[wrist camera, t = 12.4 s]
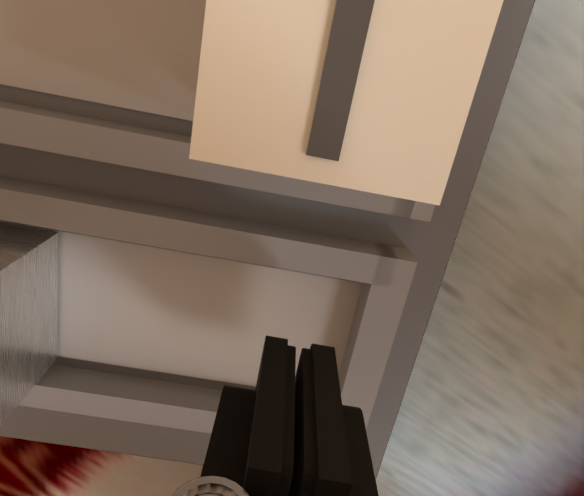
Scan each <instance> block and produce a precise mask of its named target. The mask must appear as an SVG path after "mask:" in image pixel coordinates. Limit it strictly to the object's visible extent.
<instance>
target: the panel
mask: <svg viewBox="0 0 584 496" xmlns="http://www.w3.org/2000/svg"><path fill="white" fill-rule="evenodd" d="M534 2H535V0H504V1H503V4H502V7H501V10H500V14H499V17H498V20H497V23H496V26H495V30H494V33H493V36H492V39H491V43H490V46H489V49H488V52H487V55H486V59H485V62H484V65H483V68H482V71H481V75H480V78H479V81H478V84H477V87H476V91H475V94H474V97H473V100H472V103H471V107H470V110H469V113H468V116H467V120H466V123H465V126H464V129H463V132H462V136H461V139H460V142H459V145H458V148H457V152H456V155H455V158H454V161H453V164H452V168H451V171H450V174H449V177H448V181H447V184H446V187H445V190H444V193H443V197H442V200H441V203H440V205H434V204H429V203H424V202H418V201H413V200H408V199H402V198H397V197H391V196H386V195H381V194H375V193H370V192H365V191H359V190H354V189H349V188H343V187H338V186H333V185H327V184H322V183H317V182H311V181H306V180H300V179H295V178H290V177H284V176H279V175H274V174H268V173H263V172H258V171H252V170H247V169H242V168H236V167H231V166H225V165H220V164H215V163H209V162H204V161H199V160H193V159H189V154H190V145H191V136H192V126H193V117H194V108H195V99H196V90H197V81H198V72H199V62H200V53H201V44H202V35H203V26H204V17H205V8H206V0H0V222H2V223H8V224H14V225H20V226H25V227H31V228H37V229H43V230H49V231H54V232H59V251H58V342H57V359H56V360H55V362H54V363H53V364H52V365H51V366H50V368H49V369H48V370H47V371H46V372H45V374H44V375H43V376H42V377H41V378H40V380H39V381H38V382H37V383H36V384H35V386H34V387H33V388H32V389H31V390H30V392H29V393H28V394H27V395H26V396H25V398H24V399H23V400H22V401H21V402H20V404H19V405H18V406H17V407H16V408H15V410H14V411H13V412H12V413H11V414H10V416H9V417H8V418H7V419H6V420H5V422H4V423H3V424H2V425H1V426H0V436H3V437H10V438H17V439H24V440H32V441H39V442H46V443H53V444H60V445H67V446H74V447H81V448H88V449H95V450H102V451H109V452H116V453H123V454H130V455H137V456H144V457H151V458H158V459H165V460H172V461H179V462H187V463H194V464H201V465H204V461H205V457H206V453H207V449H208V445H209V441H210V437H211V433H212V429H213V425H214V421H215V418H216V414H217V410H218V406H219V402H220V398H221V394H222V390H223V387H224V385H227V386H233V387H239V388H245V389H251V390H255V388H256V383H257V378H258V373H259V368H260V362H261V357H262V352H263V347H264V342H265V337H266V335H267V336H273V337H279V338H284V339H288V345H289V346H295V347H296V368H295V376H296V372H297V367H298V363H299V358H300V354H301V350H302V348H307V349H310V347H311V344H312V343H313V344H319V345H325V346H331V347H334V348H335V353H336V361H337V368H338V376H339V384H340V392H341V399H342V405H347V406H353V407H359V408H361V410H362V413H363V417H364V422H365V427H366V433H367V438H368V443H369V449H370V454H371V459H372V464H373V470H374V475H375V480H376V477H377V474H378V471H379V468H380V465H381V462H382V459H383V456H384V453H385V450H386V447H387V444H388V441H389V438H390V435H391V432H392V429H393V426H394V423H395V420H396V417H397V414H398V411H399V408H400V405H401V402H402V399H403V396H404V393H405V390H406V387H407V384H408V381H409V378H410V375H411V372H412V369H413V366H414V363H415V360H416V357H417V354H418V351H419V348H420V345H421V342H422V339H423V336H424V333H425V330H426V327H427V324H428V321H429V318H430V315H431V312H432V309H433V306H434V303H435V300H436V297H437V294H438V291H439V288H440V285H441V282H442V279H443V276H444V273H445V270H446V267H447V264H448V261H449V258H450V255H451V252H452V249H453V246H454V243H455V240H456V237H457V234H458V231H459V228H460V225H461V222H462V219H463V216H464V213H465V210H466V207H467V204H468V201H469V198H470V195H471V192H472V189H473V186H474V183H475V180H476V177H477V174H478V171H479V168H480V165H481V162H482V159H483V156H484V153H485V150H486V147H487V144H488V141H489V138H490V135H491V132H492V129H493V126H494V123H495V120H496V117H497V114H498V111H499V108H500V105H501V102H502V99H503V96H504V93H505V90H506V87H507V84H508V80H509V77H510V74H511V71H512V68H513V65H514V62H515V59H516V56H517V53H518V50H519V47H520V44H521V41H522V38H523V35H524V32H525V29H526V26H527V23H528V20H529V17H530V14H531V11H532V8H533V5H534Z"/></svg>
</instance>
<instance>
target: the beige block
mask: <svg viewBox="0 0 584 496" xmlns="http://www.w3.org/2000/svg"><path fill="white" fill-rule="evenodd" d="M58 251H59V232H54V231H49V230H43V229H37V228H31V227H25V226H20V225H14V224H8V223H2V222H0V426H1V425H2V424H3V423H4V422H5V420H6V419H7V418H8V417H9V416H10V414H11V413H12V412H13V411H14V410H15V408H16V407H17V406H18V405H19V404H20V402H21V401H22V400H23V399H24V398H25V396H26V395H27V394H28V393H29V392H30V390H31V389H32V388H33V387H34V386H35V384H36V383H37V382H38V381H39V380H40V378H41V377H42V376H43V375H44V374H45V372H46V371H47V370H48V369H49V368H50V366H51V365H52V364H53V363H54V362H55V360H56V359H57V342H58Z"/></svg>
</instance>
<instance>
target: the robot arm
mask: <svg viewBox="0 0 584 496" xmlns="http://www.w3.org/2000/svg"><path fill="white" fill-rule="evenodd" d="M295 368H296V347H295V346H289V345H288V339H284V338H279V337H273V336H267V335H266V337H265V342H264V347H263V352H262V357H261V362H260V368H259V373H258V378H257V383H256V388H255V390H251V389H245V388H239V387H233V386H227V385H224V387H223V390H222V394H221V398H220V402H219V406H218V410H217V414H216V418H215V421H214V425H213V429H212V433H211V437H210V441H209V445H208V449H207V453H206V457H205V461H204V465H203V469H202V473H201V477H198V478H196V479H193V480H191V481H188V482H186V483H185V484H184V485H182V486H181V487H180V488H178V489H177V490H176V492H175V493H174V494H173V496H378V491H377V486H376V480H375V475H374V470H373V464H372V459H371V454H370V449H369V443H368V438H367V433H366V427H365V422H364V417H363V413H362V410H361V408H359V407H353V406H347V405H342V399H341V392H340V384H339V376H338V368H337V361H336V353H335V348H334V347H331V346H325V345H319V344H313V343H312V344H311V347H310V349H307V348H302V350H301V354H300V358H299V363H298V367H297V372H296V376H295Z"/></svg>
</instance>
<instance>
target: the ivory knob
mask: <svg viewBox="0 0 584 496" xmlns="http://www.w3.org/2000/svg"><path fill="white" fill-rule="evenodd" d="M503 1H504V0H206V8H205V17H204V26H203V35H202V44H201V53H200V62H199V72H198V81H197V90H196V99H195V108H194V117H193V126H192V136H191V145H190V154H189V159H193V160H199V161H204V162H209V163H215V164H220V165H225V166H231V167H236V168H242V169H247V170H252V171H258V172H263V173H268V174H274V175H279V176H284V177H290V178H295V179H300V180H306V181H311V182H317V183H322V184H327V185H333V186H338V187H343V188H349V189H354V190H359V191H365V192H370V193H375V194H381V195H386V196H391V197H397V198H402V199H408V200H413V201H418V202H424V203H429V204H434V205H440V203H441V200H442V197H443V193H444V190H445V187H446V184H447V181H448V177H449V174H450V171H451V168H452V164H453V161H454V158H455V155H456V152H457V148H458V145H459V142H460V139H461V136H462V132H463V129H464V126H465V123H466V120H467V116H468V113H469V110H470V107H471V103H472V100H473V97H474V94H475V91H476V87H477V84H478V81H479V78H480V75H481V71H482V68H483V65H484V62H485V59H486V55H487V52H488V49H489V46H490V43H491V39H492V36H493V33H494V30H495V26H496V23H497V20H498V17H499V14H500V10H501V7H502V4H503Z"/></svg>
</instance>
